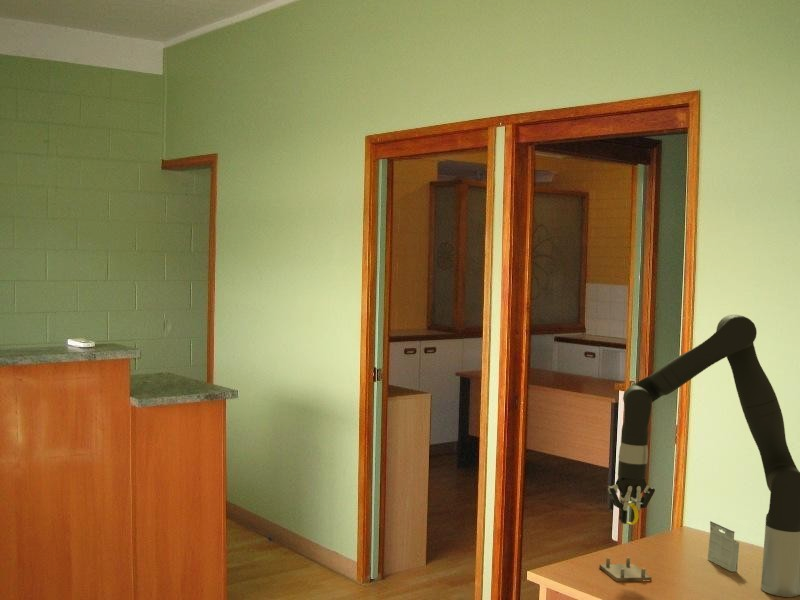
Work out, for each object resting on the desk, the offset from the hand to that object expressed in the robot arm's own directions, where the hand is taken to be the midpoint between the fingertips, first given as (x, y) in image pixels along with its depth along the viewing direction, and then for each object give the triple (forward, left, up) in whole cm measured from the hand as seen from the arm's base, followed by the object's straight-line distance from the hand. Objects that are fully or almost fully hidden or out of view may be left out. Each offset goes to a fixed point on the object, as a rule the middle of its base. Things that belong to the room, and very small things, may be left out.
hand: (628, 522), depth 253 cm
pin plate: (0, 0, -14) cm, 14 cm away
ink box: (-33, -6, -14) cm, 36 cm away
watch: (0, 0, 0) cm, 0 cm away
